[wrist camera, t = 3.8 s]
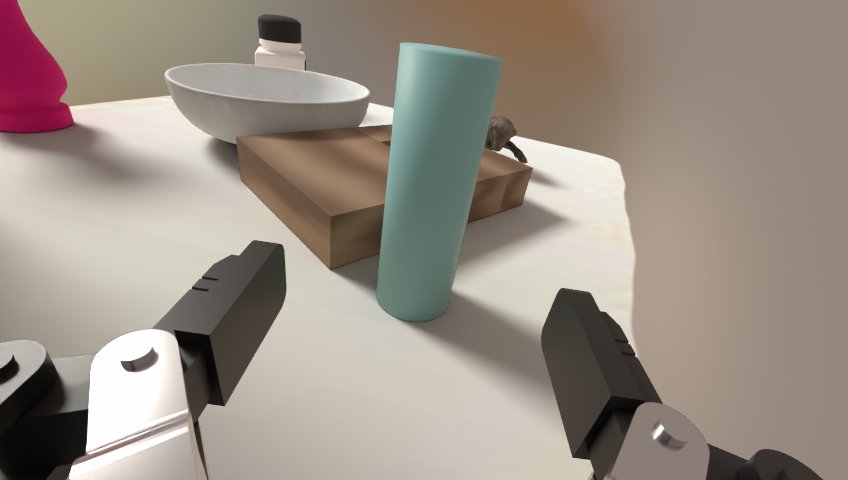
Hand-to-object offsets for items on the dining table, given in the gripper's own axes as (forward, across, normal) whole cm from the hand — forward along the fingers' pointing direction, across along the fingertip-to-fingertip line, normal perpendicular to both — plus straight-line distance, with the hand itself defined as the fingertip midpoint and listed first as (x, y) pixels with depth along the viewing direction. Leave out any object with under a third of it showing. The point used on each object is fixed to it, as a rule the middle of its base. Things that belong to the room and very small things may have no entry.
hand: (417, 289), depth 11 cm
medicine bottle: (+55, +26, +9) cm, 61 cm away
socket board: (+25, +4, +8) cm, 26 cm away
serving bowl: (+35, +18, +9) cm, 41 cm away
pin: (+10, 0, +8) cm, 13 cm away
